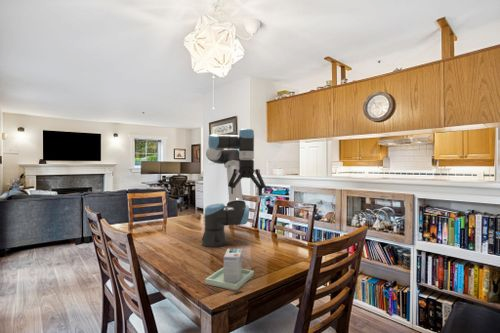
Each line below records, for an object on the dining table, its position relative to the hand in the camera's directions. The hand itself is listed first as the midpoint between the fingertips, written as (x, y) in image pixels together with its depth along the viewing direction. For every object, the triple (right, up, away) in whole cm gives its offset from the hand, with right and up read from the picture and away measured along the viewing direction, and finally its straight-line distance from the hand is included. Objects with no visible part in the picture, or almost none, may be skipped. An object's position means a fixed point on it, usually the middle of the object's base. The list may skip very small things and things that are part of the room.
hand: (246, 201), depth 140 cm
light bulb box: (-5, -29, -27) cm, 39 cm away
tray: (-6, -29, -27) cm, 40 cm away
